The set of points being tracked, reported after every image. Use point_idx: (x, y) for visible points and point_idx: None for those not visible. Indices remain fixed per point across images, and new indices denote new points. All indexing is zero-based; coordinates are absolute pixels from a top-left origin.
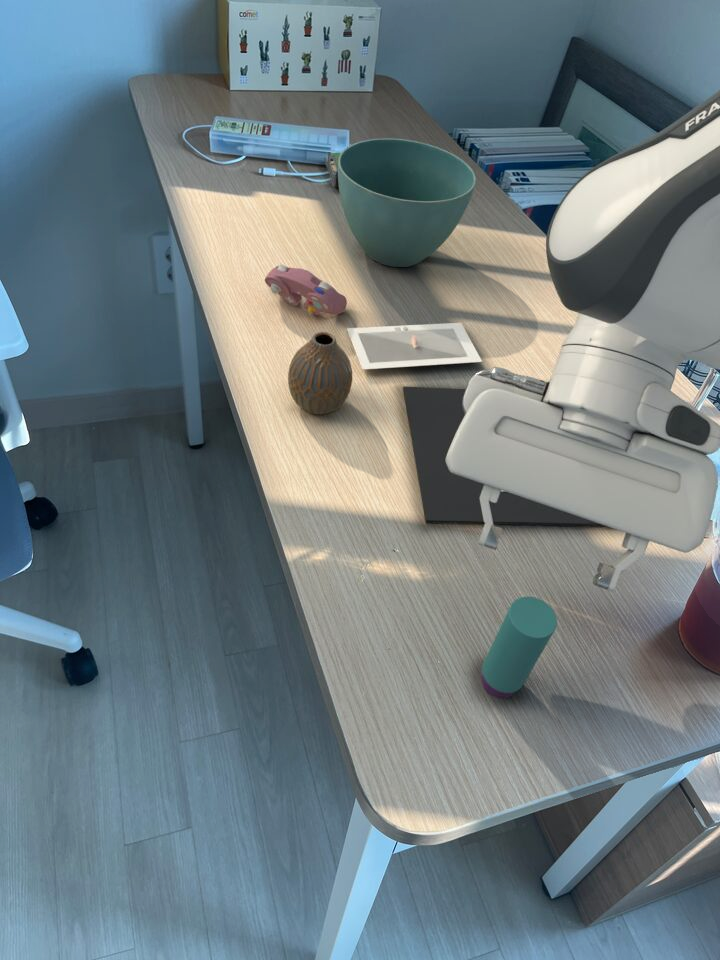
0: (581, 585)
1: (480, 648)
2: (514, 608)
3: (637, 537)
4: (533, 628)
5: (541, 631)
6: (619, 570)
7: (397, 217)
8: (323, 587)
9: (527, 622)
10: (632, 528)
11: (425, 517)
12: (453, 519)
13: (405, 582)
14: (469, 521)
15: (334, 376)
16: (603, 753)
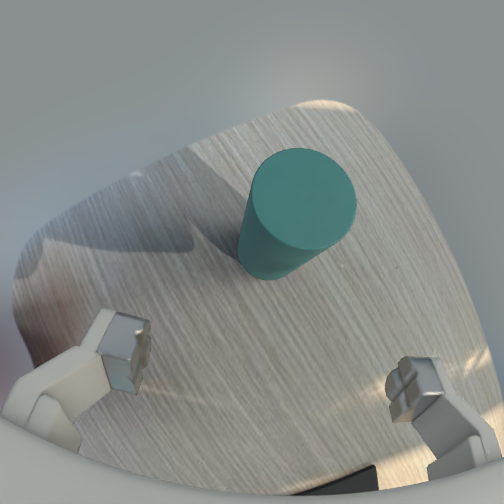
0: (150, 435)
1: (292, 299)
2: (347, 208)
3: (27, 430)
4: (303, 167)
5: (285, 163)
6: (85, 346)
7: None
8: (463, 325)
9: (317, 179)
10: (33, 452)
11: (375, 470)
12: (341, 483)
13: (393, 369)
14: (319, 489)
15: None
16: (135, 189)
